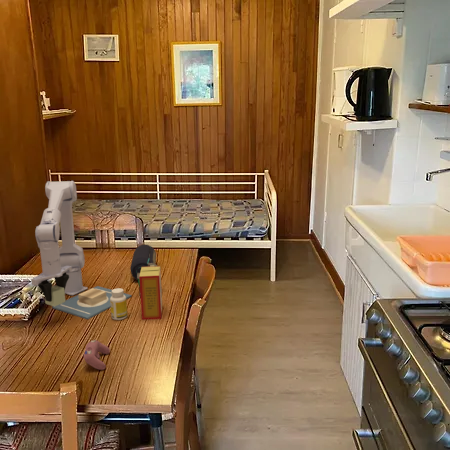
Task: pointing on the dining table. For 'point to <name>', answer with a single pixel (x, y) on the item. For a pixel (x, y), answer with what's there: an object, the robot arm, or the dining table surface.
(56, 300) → the sage block
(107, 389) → the dining table surface
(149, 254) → the portable speaker
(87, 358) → the video game controller
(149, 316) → the baking soda box
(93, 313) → the board
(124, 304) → the supplement bottle
